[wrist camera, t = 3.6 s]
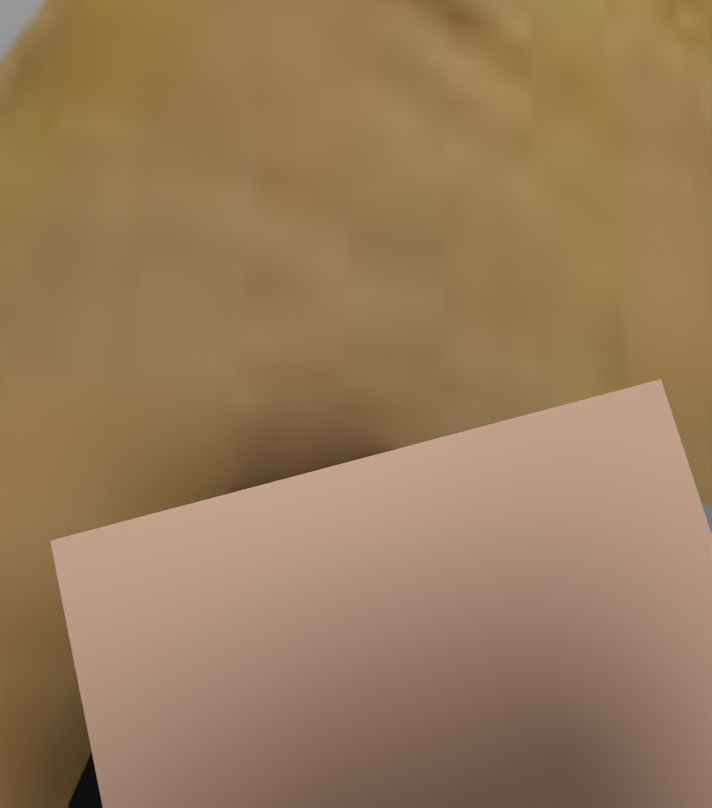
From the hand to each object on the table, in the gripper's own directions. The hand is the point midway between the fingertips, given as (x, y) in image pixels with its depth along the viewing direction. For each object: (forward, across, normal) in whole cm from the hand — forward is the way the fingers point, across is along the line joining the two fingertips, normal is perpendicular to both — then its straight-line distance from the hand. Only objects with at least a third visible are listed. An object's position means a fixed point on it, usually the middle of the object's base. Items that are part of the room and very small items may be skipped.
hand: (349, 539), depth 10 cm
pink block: (+4, 0, +6) cm, 7 cm away
